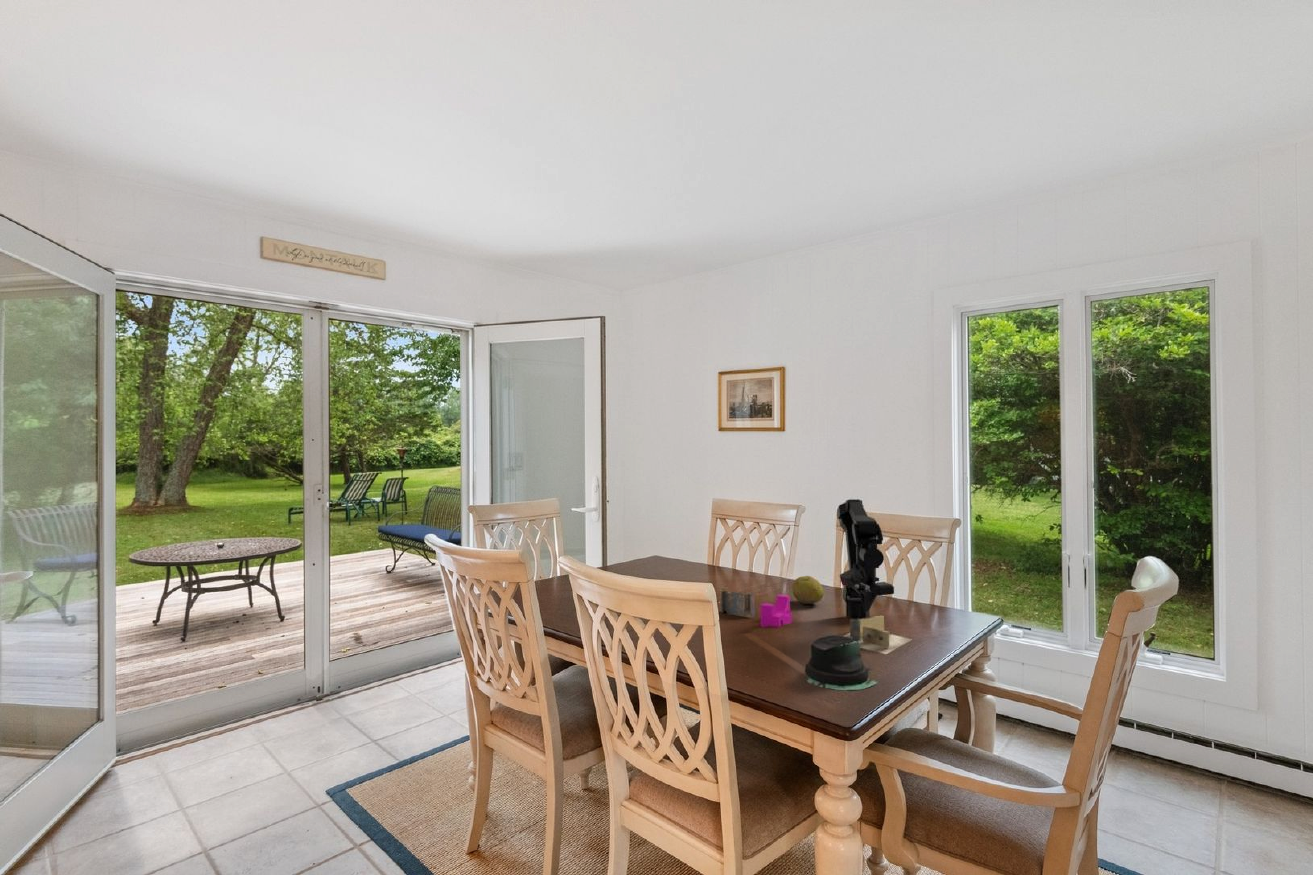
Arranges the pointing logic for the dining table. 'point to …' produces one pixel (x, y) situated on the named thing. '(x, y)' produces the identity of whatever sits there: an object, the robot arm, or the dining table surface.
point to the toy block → (776, 612)
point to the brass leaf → (871, 623)
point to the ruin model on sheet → (737, 603)
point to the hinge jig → (875, 638)
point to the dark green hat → (837, 664)
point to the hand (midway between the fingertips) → (866, 610)
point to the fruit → (807, 590)
